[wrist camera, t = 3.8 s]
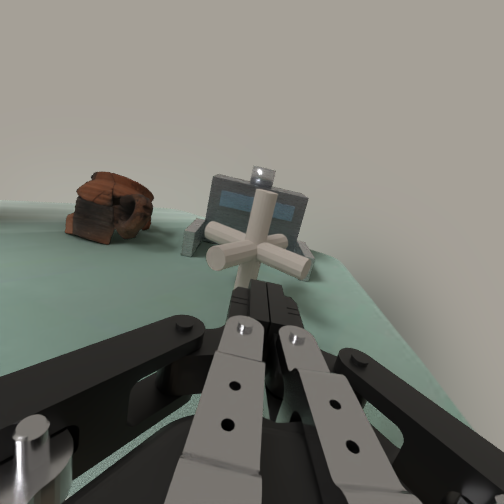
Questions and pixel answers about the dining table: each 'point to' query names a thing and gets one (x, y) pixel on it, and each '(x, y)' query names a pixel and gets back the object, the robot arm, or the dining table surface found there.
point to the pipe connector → (254, 245)
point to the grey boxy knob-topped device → (239, 209)
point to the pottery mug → (110, 208)
